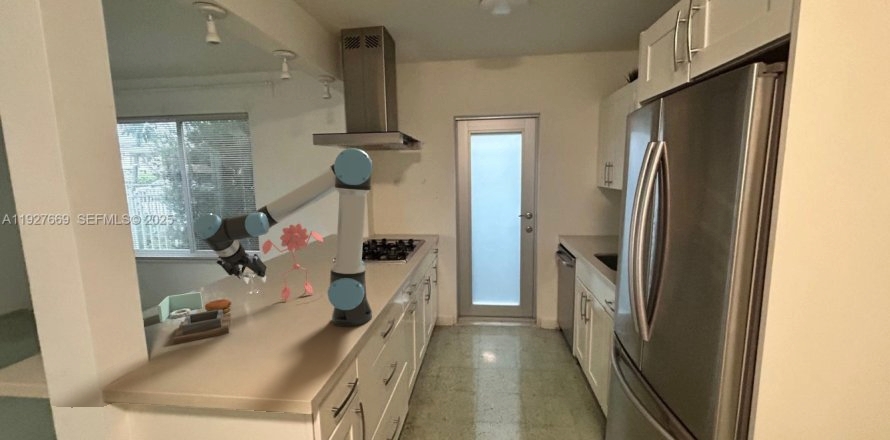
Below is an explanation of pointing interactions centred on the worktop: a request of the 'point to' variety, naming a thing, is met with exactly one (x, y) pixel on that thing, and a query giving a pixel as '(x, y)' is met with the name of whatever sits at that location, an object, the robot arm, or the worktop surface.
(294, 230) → the figurine
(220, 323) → the socket base
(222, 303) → the burger
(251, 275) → the wineglass
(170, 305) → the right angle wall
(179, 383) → the worktop surface
